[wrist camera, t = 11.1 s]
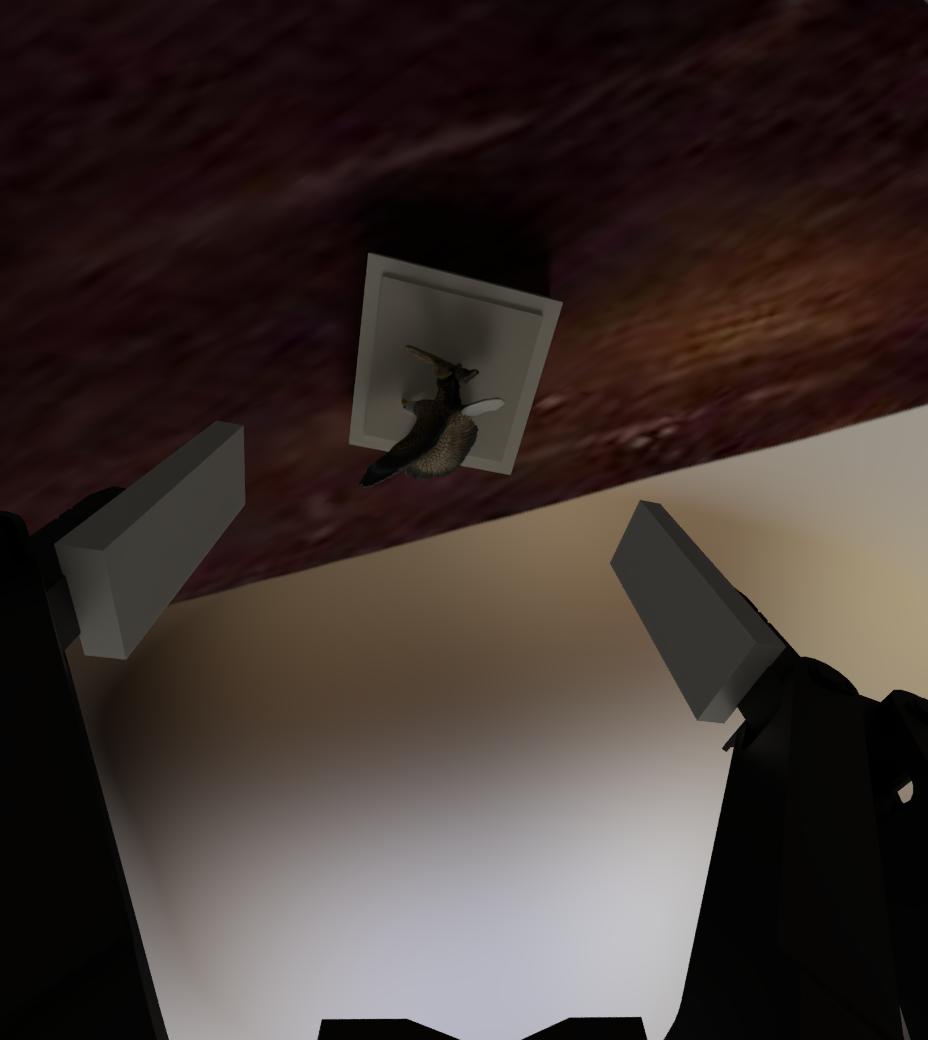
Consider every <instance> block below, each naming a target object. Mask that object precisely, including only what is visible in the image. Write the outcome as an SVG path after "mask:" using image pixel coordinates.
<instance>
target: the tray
mask: <svg viewBox="0 0 928 1040" xmlns="http://www.w3.org/2000/svg"><path fill="white" fill-rule="evenodd" d="M562 304H563V302H561V301H558V300H556V299H553V298H551V297H548V296H544V295H540V294H536V293H532V292H528V291H524V290H520V289H516V288H513V287H509V286H505V285H501V284H497V283H493V282H489V281H485V280H481V279H477V278H473V277H470V276H466V275H462V274H458V273H454V272H450V271H446V270H442V269H438V268H434V267H430V266H427V265H423V264H419V263H415V262H411V261H407V260H403V259H399V258H395V257H391V256H387V255H384V254H380V253H368V262H367V272H366V282H365V291H364V301H363V311H362V321H361V331H360V340H359V350H358V360H357V370H356V380H355V389H354V399H353V409H352V419H351V429H350V439H349V444H352V445H357V446H362V447H367V448H373V449H378V450H383V451H388V452H389V451H390V450H391V448H392V447H393V446H394V445H395V444H396V443H398V442H399V441H400V440H402V439H403V438H405V437H406V436H407V435H408V434H409V432H410V431H411V430H412V428H413V426H414V424H415V422H416V419H417V417H416V416H413V415H410V414H408V413H407V412H405V411H404V410H403V405H402V403H401V400H402V399H405V400H406V401H419V400H422V399H430V400H434V399H435V398H436V395H437V392H438V387H437V376H436V375H435V374H434V372H433V370H432V368H431V367H430V365H429V364H427V363H425V362H422V361H421V360H419V359H417V358H415V357H413V356H412V355H410V354H409V353H408V352H407V351H406V348H405V346H406V345H410V346H413V347H416V348H418V349H421V350H423V351H426V352H428V353H431V354H433V355H436V356H438V357H440V358H442V359H443V360H445V361H448V362H451V363H453V364H454V365H456V364H458V363H461V364H462V368H466V369H468V370H472V369H477V370H478V371H479V374H478V375H476V376H475V377H474V378H473V379H471V380H470V381H469V382H468V383H467V384H466V385H464V384H462V383H460V382H459V385H460V390H459V391H460V398H461V404H462V405H467V404H471V403H474V402H477V401H480V400H483V399H490V398H496V397H499V398H501V399H503V400H505V404H504V405H502V406H501V407H500V408H499V409H497V410H494V411H486V412H484V413H481V414H479V415H477V416H475V417H474V418H472V421H473V422H474V425H477V428H478V432H477V438H476V442H475V443H474V445H473V446H472V447H471V450H470V452H469V453H468V455H467V456H466V457H465V460H464V461H463V463H462V464H461V466H466V467H472V468H477V469H482V470H487V471H492V472H498V473H503V474H508V475H511V472H512V468H513V465H514V462H515V459H516V455H517V452H518V449H519V445H520V442H521V439H522V436H523V432H524V429H525V426H526V422H527V419H528V416H529V413H530V409H531V406H532V403H533V399H534V396H535V393H536V389H537V386H538V383H539V380H540V376H541V373H542V370H543V366H544V363H545V360H546V357H547V353H548V350H549V347H550V343H551V340H552V337H553V334H554V330H555V327H556V324H557V320H558V317H559V314H560V310H561V307H562Z"/></svg>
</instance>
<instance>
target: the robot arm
mask: <svg viewBox="0 0 928 1040" xmlns="http://www.w3.org/2000/svg"><path fill="white" fill-rule="evenodd" d="M244 505H245V474H244V428H243V426H242V425H237V424H232V423H226V422H221V421H216V422H214V423H213V424H212V425H210V426H209V427H208V428H206V429H205V430H204V431H202V432H201V433H200V434H198V435H197V436H196V437H194V438H193V439H192V440H190V441H189V442H188V443H187V444H185V445H184V446H183V447H181V448H180V449H179V450H177V451H176V452H175V453H173V454H172V455H171V456H169V457H168V458H167V459H165V460H164V461H163V462H162V463H160V464H159V465H158V466H156V467H155V468H154V469H152V470H151V471H150V472H148V473H147V474H146V475H144V476H143V477H142V478H140V479H139V480H138V481H136V482H135V483H134V484H133V485H131V486H130V487H129V488H127V489H126V488H120V487H114V486H113V487H110V488H107V489H105V490H102V491H99V492H96V493H93V494H91V495H89V496H87V497H86V498H84V499H83V500H81V501H80V502H79V503H77V504H76V505H74V506H73V509H68V510H67V511H66V512H64V513H63V514H61V515H60V516H59V519H54V520H53V521H51V522H50V523H48V524H47V525H45V526H44V527H43V528H41V529H40V530H38V531H37V532H35V533H34V534H32V535H31V536H30V537H29V533H28V530H27V527H26V524H25V522H24V520H23V519H22V518H21V517H20V516H19V515H16V514H13V513H10V512H7V511H0V1040H169V1038H168V1035H167V1032H166V1028H165V1025H164V1021H163V1017H162V1014H161V1010H160V1007H159V1003H158V999H157V996H156V992H155V988H154V984H153V980H152V976H151V973H150V969H149V965H148V962H147V958H146V954H145V950H144V946H143V943H142V939H141V935H140V931H139V928H138V924H137V920H136V916H135V912H134V909H133V905H132V901H131V898H130V894H129V890H128V886H127V882H126V879H125V875H124V871H123V867H122V864H121V860H120V856H119V852H118V848H117V845H116V841H115V837H114V834H113V830H112V826H111V822H110V818H109V814H108V811H107V807H106V803H105V799H104V796H103V792H102V788H101V784H100V781H99V777H98V773H97V769H96V765H95V762H94V758H93V754H92V750H91V747H90V743H89V739H88V735H87V732H86V728H85V724H84V720H83V717H82V713H81V709H80V706H79V702H78V698H77V694H76V690H75V687H74V683H73V679H72V675H71V671H70V668H69V664H68V660H67V657H66V654H65V649H66V648H67V647H68V646H69V645H70V644H71V643H72V642H73V641H74V639H75V638H76V637H77V636H78V635H80V639H81V643H82V646H83V650H84V653H85V655H89V656H98V657H108V658H117V659H127V658H128V656H129V655H130V654H131V653H132V651H133V650H134V649H135V647H136V646H137V645H138V643H139V642H140V641H141V639H142V638H143V637H144V636H145V634H146V633H147V632H148V630H149V629H150V628H151V626H152V625H153V624H154V623H155V621H156V620H157V619H158V617H159V616H160V615H161V613H162V612H163V611H164V609H165V608H166V607H167V606H168V604H169V603H170V602H171V600H172V599H173V598H174V596H175V595H176V594H177V592H178V591H179V590H180V589H181V587H182V586H183V585H184V583H185V582H186V581H187V579H188V578H189V577H190V576H191V574H192V573H193V572H194V570H195V569H196V568H197V566H198V565H199V564H200V562H201V561H202V560H203V559H204V557H205V556H206V555H207V553H208V552H209V551H210V549H211V548H212V547H213V546H214V544H215V543H216V542H217V540H218V539H219V538H220V536H221V535H222V534H223V532H224V531H225V530H226V529H227V527H228V526H229V525H230V523H231V522H232V521H233V519H234V518H235V517H236V516H237V514H238V513H239V512H240V510H241V509H242V508H243V506H244ZM610 564H611V566H612V568H613V570H614V571H615V573H616V575H617V577H618V578H619V580H620V582H621V584H622V586H623V588H624V589H625V591H626V593H627V595H628V597H629V598H630V600H631V602H632V604H633V606H634V608H635V609H636V611H637V613H638V615H639V616H640V618H641V620H642V622H643V624H644V626H645V627H646V629H647V631H648V633H649V634H650V636H651V638H652V640H653V642H654V644H655V645H656V647H657V649H658V651H659V653H660V654H661V656H662V658H663V660H664V662H665V663H666V665H667V667H668V669H669V671H670V672H671V674H672V676H673V678H674V680H675V682H676V683H677V685H678V687H679V689H680V690H681V692H682V694H683V696H684V698H685V700H686V701H687V703H688V705H689V707H690V709H691V710H692V712H693V714H694V716H695V718H696V719H697V720H698V721H707V722H717V723H724V722H725V721H726V720H727V719H728V718H729V717H730V715H731V714H732V713H733V712H734V710H735V709H736V708H737V707H738V708H739V710H740V712H741V713H742V715H743V716H744V718H745V719H746V720H745V721H744V722H743V724H742V725H741V726H740V727H739V728H738V729H737V731H736V732H735V733H734V734H733V735H732V737H731V738H730V739H729V740H728V741H727V742H726V744H725V745H724V746H723V748H722V749H723V750H725V751H726V752H727V751H728V749H729V748H730V747H734V749H733V754H732V759H731V764H730V769H729V774H728V779H727V783H726V788H725V793H724V798H723V803H722V807H721V812H720V817H719V822H718V827H717V831H716V837H715V841H714V846H713V851H712V856H711V861H710V865H709V871H708V875H707V880H706V885H705V890H704V894H703V899H702V904H701V909H700V914H699V918H698V923H697V928H696V933H695V938H694V943H693V948H692V952H691V957H690V962H689V967H688V972H687V976H686V981H685V987H684V991H683V996H682V1001H681V1004H680V1008H679V1012H678V1014H677V1016H676V1019H675V1021H674V1023H673V1025H672V1027H671V1028H670V1030H669V1032H668V1033H667V1035H666V1037H665V1039H664V1040H904V1036H903V1030H902V1022H901V1015H900V1008H901V1011H902V1014H903V1017H904V1020H905V1023H906V1027H907V1029H908V1033H909V1036H910V1039H911V1040H928V700H927V699H925V698H921V697H919V696H917V695H915V694H913V693H910V692H907V691H903V690H893V691H892V692H891V693H890V694H889V695H888V696H887V697H886V698H885V699H884V700H883V701H882V702H878V701H875V700H873V699H870V698H867V697H865V696H862V695H859V693H858V691H857V689H856V688H855V687H854V685H853V684H852V683H851V682H850V681H849V680H848V679H847V678H846V677H844V676H843V675H842V674H841V673H840V672H839V671H837V670H835V669H834V668H832V667H831V666H829V665H827V664H825V663H823V662H821V661H819V660H816V659H814V658H809V657H800V656H799V655H798V654H797V653H796V651H795V650H794V649H793V648H792V647H791V646H790V645H789V644H788V642H787V641H786V640H785V639H784V638H783V637H782V636H781V635H780V633H779V632H778V631H777V630H776V629H775V628H774V627H773V626H772V625H771V624H770V623H768V622H767V621H768V620H767V619H766V618H765V617H764V616H763V614H762V613H761V612H758V609H757V608H756V607H755V606H754V604H753V603H752V602H751V601H750V600H749V599H748V598H747V597H746V596H745V595H744V594H742V593H741V592H739V591H738V590H737V589H736V588H734V587H733V586H732V585H731V583H730V582H729V581H728V580H727V579H726V578H725V577H724V576H723V574H722V573H721V572H720V571H719V570H718V569H717V568H716V567H715V565H714V564H713V563H712V562H711V561H710V560H709V559H708V557H706V555H705V554H704V553H703V552H702V551H701V550H700V549H699V547H698V546H697V545H696V544H695V543H694V542H693V541H692V539H690V537H689V536H688V535H687V534H686V533H685V531H684V530H683V529H682V528H681V527H680V526H679V525H678V524H677V522H676V521H675V520H674V519H673V518H672V517H671V516H670V515H669V513H668V512H667V511H666V510H665V509H664V508H663V507H662V505H661V504H658V503H652V502H647V501H642V500H640V501H639V503H638V505H637V508H636V510H635V512H634V514H633V516H632V518H631V520H630V522H629V525H628V527H627V529H626V531H625V533H624V535H623V537H622V539H621V541H620V544H619V545H618V547H617V550H616V552H615V554H614V556H613V558H612V560H611V562H610ZM911 781H912V783H913V795H912V797H911V800H909V801H908V802H906V803H903V802H902V801H901V799H900V797H899V794H898V791H899V790H900V789H902V788H903V787H904V786H905V785H907V784H908V783H909V782H911ZM899 1005H900V1006H899ZM318 1040H459V1039H457V1038H454V1037H452V1036H449V1035H447V1034H444V1033H442V1032H439V1031H437V1030H434V1029H432V1028H429V1027H426V1026H424V1025H421V1024H419V1023H416V1022H413V1021H411V1020H409V1019H322V1021H321V1026H320V1030H319V1035H318ZM522 1040H647V1037H646V1033H645V1029H644V1025H643V1022H642V1018H641V1017H590V1018H589V1017H588V1018H586V1017H585V1018H568V1019H566V1020H563V1021H561V1022H559V1023H557V1024H555V1025H552V1026H550V1027H548V1028H546V1029H544V1030H541V1031H539V1032H537V1033H535V1034H533V1035H531V1036H529V1037H526V1038H524V1039H522Z"/></svg>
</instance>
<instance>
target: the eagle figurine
mask: <svg viewBox="0 0 928 1040" xmlns="http://www.w3.org/2000/svg"><path fill="white" fill-rule="evenodd" d="M405 348H406V351H407V352H408V353H409V354H410V355H412V356H413V357H415V358H417V359H419V360H421V361H422V362H425V363H427V364H429V365H430V367H431V368H432V370H433V372H434V374H435V375H436V376H437V387H438V392H437V395H436V398H435V399H434V400H430V399H422V400H419V401H406V400H405V399H402V400H401V403H402V405H403V410H404V411H405V412H407V413H408V414H410V415H413V416H416V417H417V419H416V422H415V424H414V426H413V428H412V430H411V431H410V432H409V434H408V435H407V436H406V437H405V438H403V439H402V440H400V441H399V442H398V443H396V444H395V445H394V446H393V447H392V448H391V450H390V451H389V452H388V453H387V454H386V455H384V456H382V457H380V458H379V459H378V460H376V461H375V462H374V463H373V464H372V465H370V467H369V468H368V469H367V473H366V474H365V475H364V476H363V478H362V480H361V482H360V483H359V484H360V485H362V488H365V487H366V488H368V487H369V486H370V487H372V486H374V485H375V484H379V483H380V482H382V481H384V480H386V479H387V478H390V477H392V476H394V475H395V474H397V473H399V472H401V471H403V470H405V474H406V475H407V476H412V478H413V479H419V478H422V479H423V480H427V479H429V478H430V477H432V476H433V477H434V478H438V477H439V476H446V475H448V474H450V473H451V472H454V471H455V470H456V469H457V468H459V467H460V465H461V464H462V463H463V461H464V460H465V457H466V456H467V455H468V453H469V452H470V450H471V447H472V446H473V445H474V443H475V442H476V438H477V432H478V428H477V425H474V422H473V421H472V418H474V417H475V416H477V415H479V414H481V413H484V412H486V411H494V410H497V409H499V408H500V407H501V406H502V405H504V404H505V400H503V399H501V398H499V397H496V398H490V399H483V400H480V401H477V402H474V403H471V404H467V405H462V404H461V398H460V391H459V390H460V385H459V382H460V383H462V384H464V385H466V384H467V383H468V382H469V381H470V380H471V379H473V378H474V377H475V376H476V375H478V374H479V371H478V370H477V369H472V370H468V369H466V368H462V364H461V363H458V364H456V365H454V364H453V363H451V362H448V361H445V360H443V359H442V358H440V357H438V356H436V355H433V354H431V353H428V352H426V351H423V350H421V349H418V348H416V347H413V346H410V345H406V346H405Z"/></svg>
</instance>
